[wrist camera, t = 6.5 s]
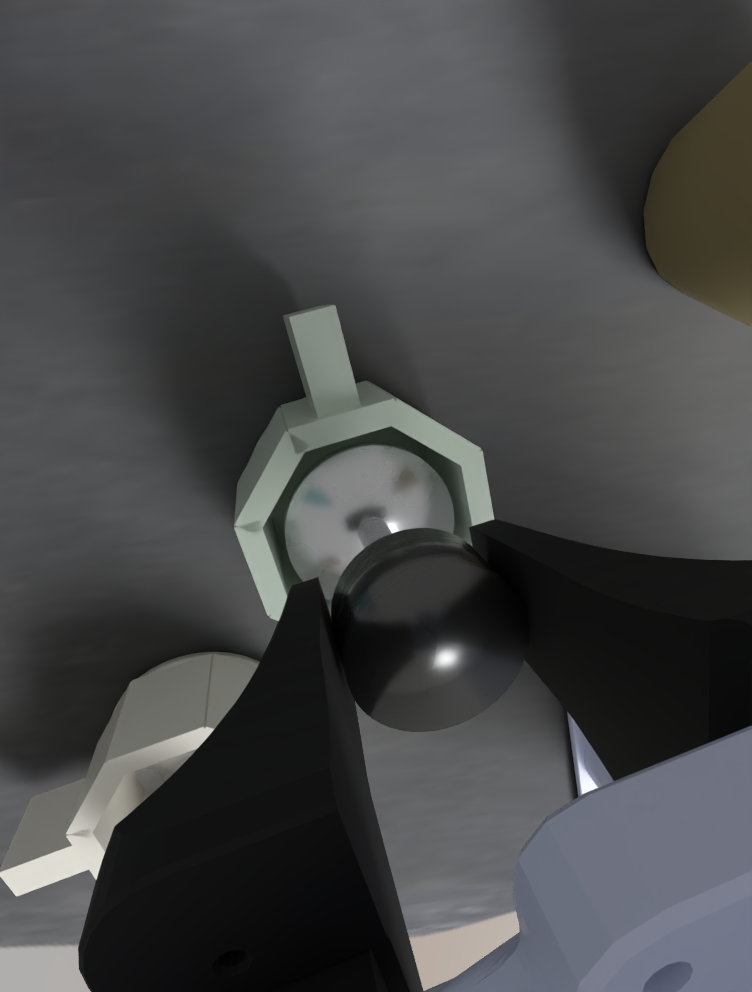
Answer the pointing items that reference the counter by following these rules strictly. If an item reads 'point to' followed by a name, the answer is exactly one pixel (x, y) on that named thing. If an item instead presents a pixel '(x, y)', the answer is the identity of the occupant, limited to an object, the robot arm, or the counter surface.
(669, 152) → the squeeze bottle
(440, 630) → the sage press plunger
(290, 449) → the sage press pot
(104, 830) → the cream press pot
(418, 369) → the counter surface
